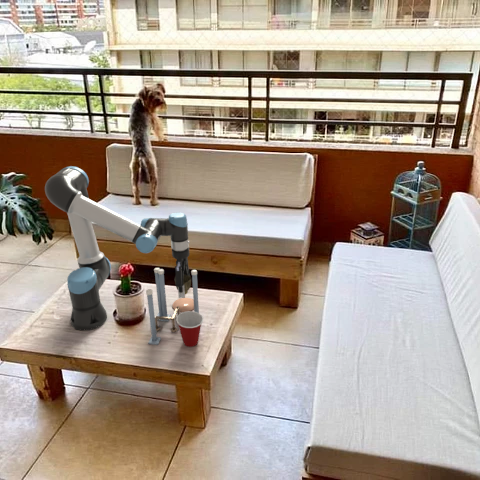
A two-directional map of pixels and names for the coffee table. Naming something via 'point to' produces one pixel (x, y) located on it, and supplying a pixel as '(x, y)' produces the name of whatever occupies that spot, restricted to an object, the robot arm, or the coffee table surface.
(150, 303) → the gate
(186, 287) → the ornate lamp shade
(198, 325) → the plastic cup
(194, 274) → the gate
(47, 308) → the coffee table surface
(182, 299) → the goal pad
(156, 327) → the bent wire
